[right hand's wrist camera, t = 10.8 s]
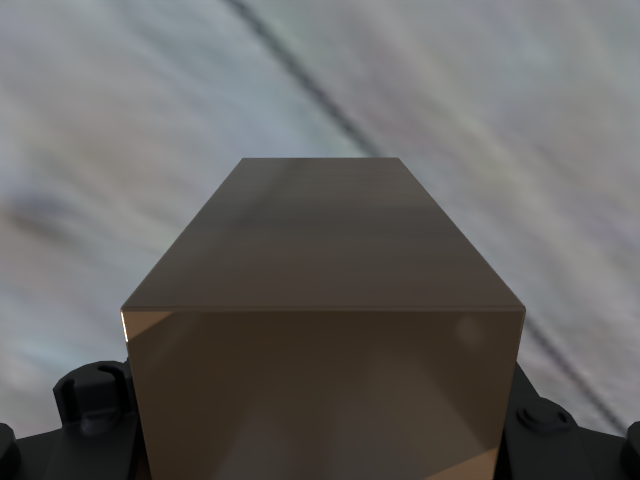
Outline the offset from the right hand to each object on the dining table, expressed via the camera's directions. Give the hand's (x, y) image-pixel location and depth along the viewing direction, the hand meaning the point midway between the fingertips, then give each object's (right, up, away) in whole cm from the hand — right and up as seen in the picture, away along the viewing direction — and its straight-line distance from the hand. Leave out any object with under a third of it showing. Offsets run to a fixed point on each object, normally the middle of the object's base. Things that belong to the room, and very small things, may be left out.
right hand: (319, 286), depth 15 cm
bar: (0, -8, +4) cm, 9 cm away
